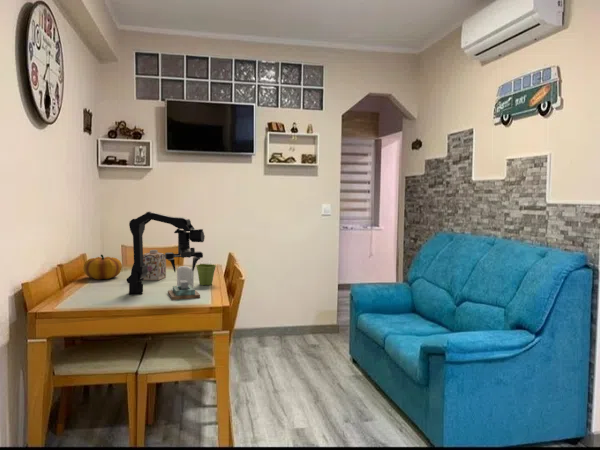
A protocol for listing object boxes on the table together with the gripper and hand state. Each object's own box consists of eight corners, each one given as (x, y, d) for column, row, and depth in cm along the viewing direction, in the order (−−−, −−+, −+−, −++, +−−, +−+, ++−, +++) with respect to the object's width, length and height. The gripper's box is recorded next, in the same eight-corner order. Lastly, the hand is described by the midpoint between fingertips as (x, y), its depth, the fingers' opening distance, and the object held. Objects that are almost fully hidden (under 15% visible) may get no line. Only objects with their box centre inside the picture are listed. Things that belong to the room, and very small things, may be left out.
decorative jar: (166, 277, 287) (166, 249, 286) (159, 280, 275) (158, 251, 274) (148, 276, 288) (148, 248, 287) (140, 280, 276) (140, 250, 275)
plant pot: (211, 286, 260) (211, 267, 259) (192, 285, 262) (192, 266, 261) (219, 283, 271) (219, 264, 270) (200, 282, 274) (200, 263, 273)
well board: (171, 299, 226) (171, 291, 226) (167, 293, 241) (167, 285, 240) (200, 297, 231) (200, 290, 231) (194, 291, 246) (194, 284, 246)
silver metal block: (181, 294, 232) (181, 282, 232) (179, 291, 238) (179, 280, 238) (188, 293, 233) (188, 282, 233) (186, 291, 240) (186, 279, 239)
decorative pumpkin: (122, 280, 276) (121, 255, 275) (82, 282, 268) (81, 256, 267) (122, 274, 295) (121, 251, 294) (84, 276, 286) (84, 252, 285)
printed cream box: (194, 288, 255) (194, 266, 254) (189, 289, 252) (189, 267, 251) (181, 286, 260) (181, 264, 260) (175, 287, 257) (175, 265, 256)
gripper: (167, 244, 223) (167, 275, 224) (205, 242, 231) (205, 273, 231) (164, 241, 233) (164, 271, 234) (200, 240, 241) (200, 269, 242)
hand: (183, 271), depth 235 cm, fingers open, 9 cm apart
